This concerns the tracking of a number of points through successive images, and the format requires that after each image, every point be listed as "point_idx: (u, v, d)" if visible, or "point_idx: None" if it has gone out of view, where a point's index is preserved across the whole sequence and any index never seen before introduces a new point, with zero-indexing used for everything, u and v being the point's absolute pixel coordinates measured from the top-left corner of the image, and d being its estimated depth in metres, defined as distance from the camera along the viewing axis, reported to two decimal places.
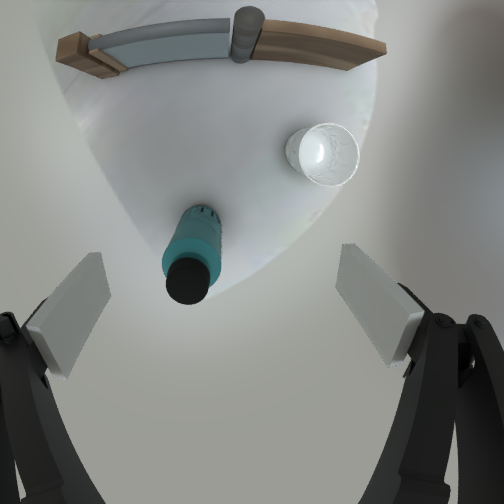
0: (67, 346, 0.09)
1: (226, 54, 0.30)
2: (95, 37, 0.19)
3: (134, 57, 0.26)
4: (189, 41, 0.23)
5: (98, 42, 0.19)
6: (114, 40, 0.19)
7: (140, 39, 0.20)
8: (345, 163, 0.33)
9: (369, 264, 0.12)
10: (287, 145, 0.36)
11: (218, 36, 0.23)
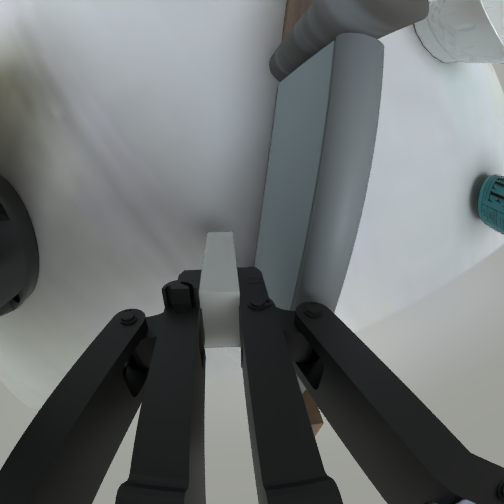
0: None
1: None
2: None
3: None
4: None
5: None
6: None
7: None
8: (485, 6, 0.07)
9: (225, 248, 0.13)
10: (443, 54, 0.15)
11: None
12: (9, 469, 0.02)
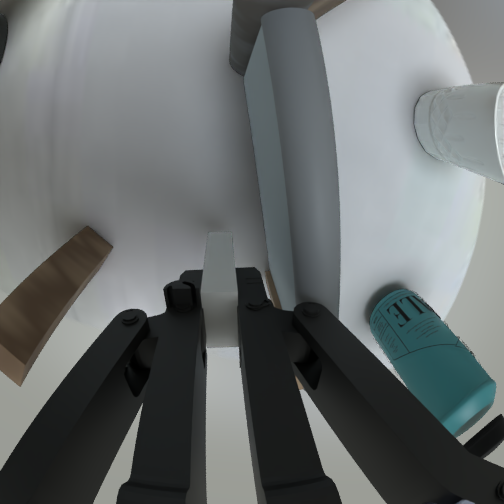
0: None
1: None
2: None
3: None
4: None
5: None
6: None
7: None
8: None
9: (224, 249, 0.13)
10: (428, 140, 0.18)
11: None
12: (10, 469, 0.02)
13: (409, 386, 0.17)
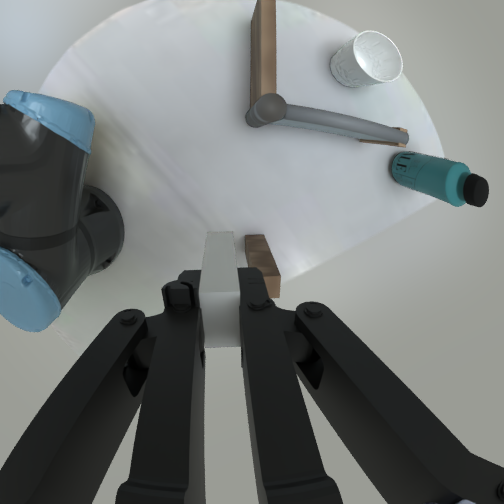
0: None
1: None
2: (402, 143, 0.28)
3: None
4: None
5: (400, 134, 0.27)
6: (387, 128, 0.27)
7: (365, 120, 0.27)
8: (374, 42, 0.26)
9: (225, 248, 0.13)
10: (349, 84, 0.34)
11: None
12: (9, 469, 0.02)
13: (428, 193, 0.33)
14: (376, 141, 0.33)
